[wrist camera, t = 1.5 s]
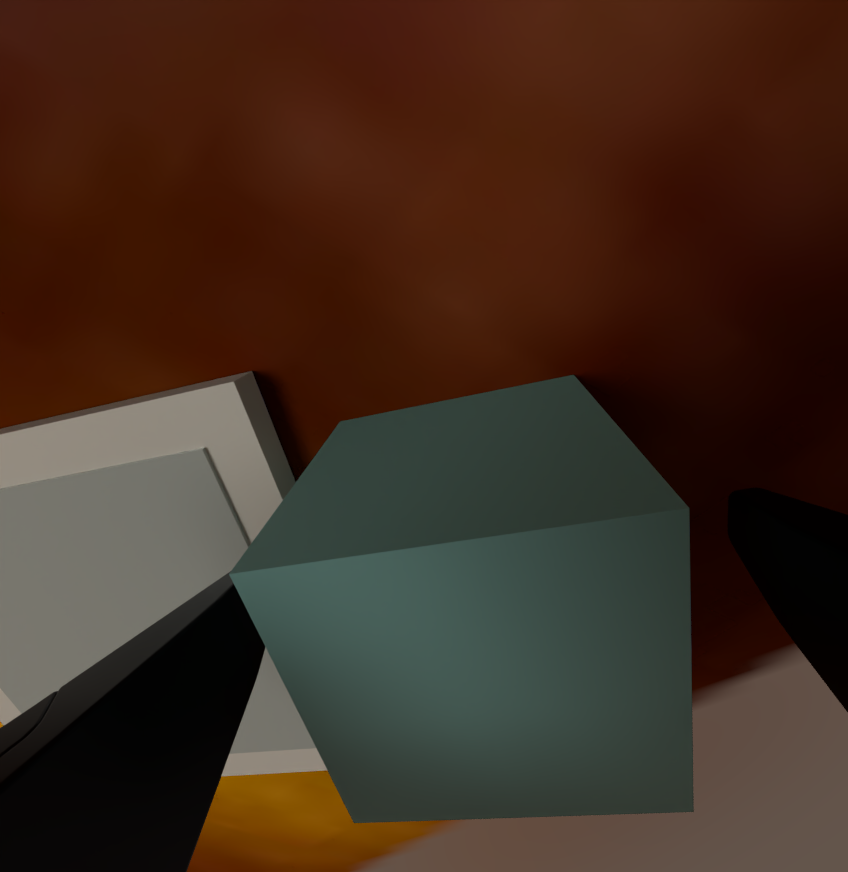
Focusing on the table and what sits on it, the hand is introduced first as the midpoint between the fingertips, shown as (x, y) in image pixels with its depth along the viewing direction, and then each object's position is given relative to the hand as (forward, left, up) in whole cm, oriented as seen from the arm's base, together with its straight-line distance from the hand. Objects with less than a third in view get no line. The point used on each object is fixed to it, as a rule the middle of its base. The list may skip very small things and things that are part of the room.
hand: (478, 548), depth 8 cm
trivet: (+10, +2, -2) cm, 10 cm away
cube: (0, 0, -2) cm, 2 cm away
